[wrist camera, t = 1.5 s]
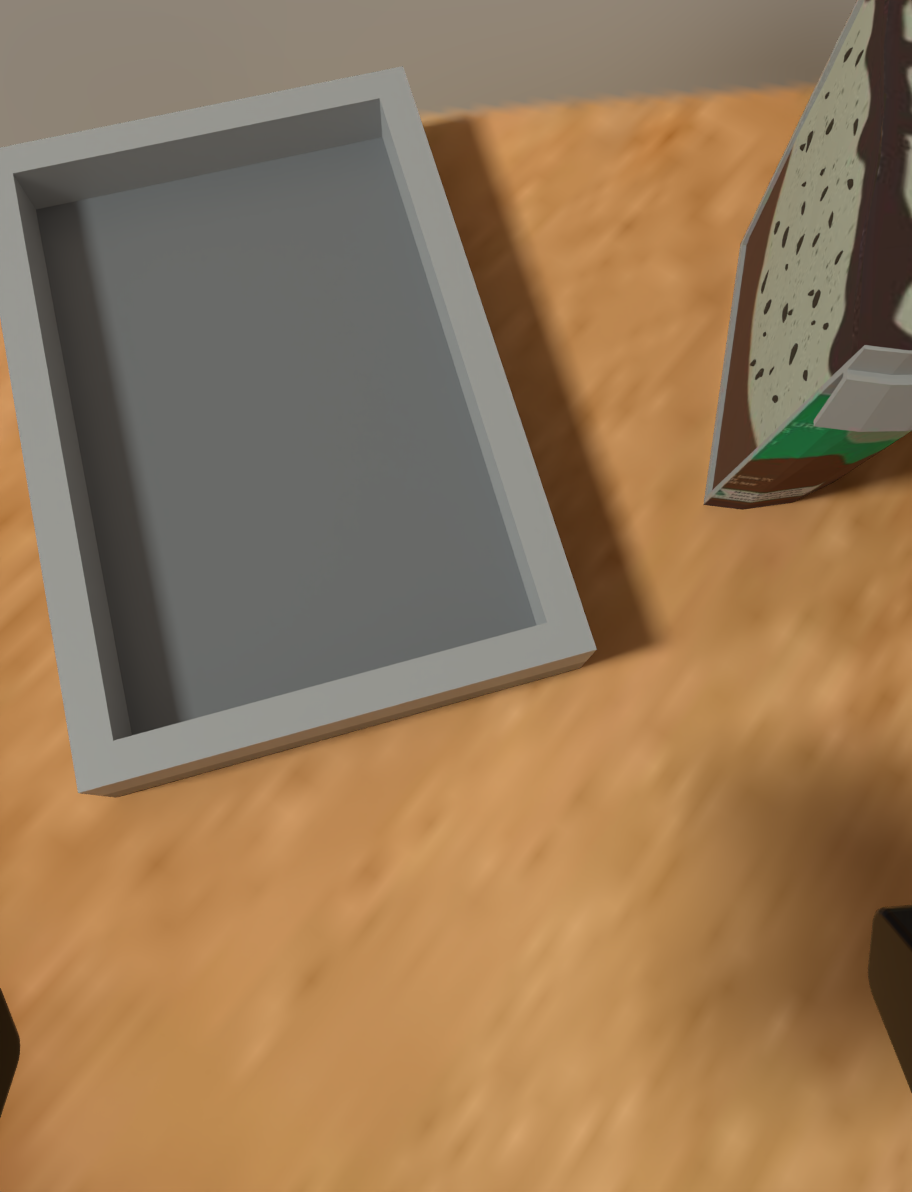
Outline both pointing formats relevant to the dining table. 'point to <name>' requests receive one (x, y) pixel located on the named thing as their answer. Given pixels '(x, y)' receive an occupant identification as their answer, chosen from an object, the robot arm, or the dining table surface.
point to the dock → (266, 434)
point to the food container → (826, 283)
